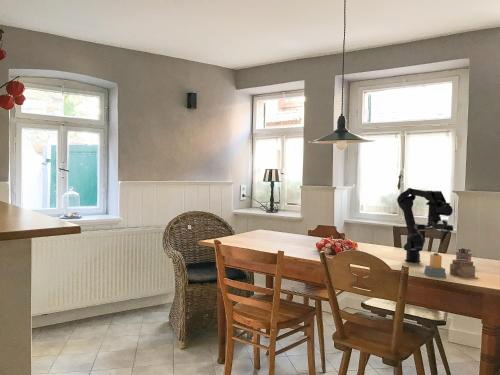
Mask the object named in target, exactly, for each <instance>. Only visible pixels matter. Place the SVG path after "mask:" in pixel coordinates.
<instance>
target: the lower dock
mask: <svg viewBox="0 0 500 375" xmlns="http://www.w3.org/2000/svg"><path fill="white" fill-rule="evenodd" d="M424 274H425V275H427V276H428V277H429V278H447V273H446V268H445V267H442V266H441V269H440V268H431V267H430V264H429V265H425V269H424Z"/></svg>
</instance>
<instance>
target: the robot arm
mask: <svg viewBox="0 0 500 375" xmlns="http://www.w3.org/2000/svg"><path fill="white" fill-rule="evenodd" d="M416 197H421V198H424V199H425V200H426V201H428V202H426V204H425V205H426V206H428V214H427V215H426V216H427V223H426V224H424V223H416V220H415V216H414V212H413V207H414V201H415V199H416ZM396 201H397V204H398V207H399V208H400V209H401V210H402V213H403V216H404V220H405V225H406V228H407V233H408V234H407V238H406V243H405V244H404V245H403V250H404V251H406V252H405V253H406V256H405V257H406V258H405V259H404V261H406V262H409V263H414V264H415V263H420V262H421V258H420V257H421V254H420V252H421V251H423V248H424V245H425V243H426V230H425V229H432V230H440V244H443V243H444V240H445V238H446V237H447V235H448V234H449V233H451V232H454V226H453V225H451V224H448V220H447V219H445V220H444V219H442V217H441V216H446V217H450V216H451V215H452V214H453V211H454V209H453V207H452V206H451V203H450V202H447V201H446V198H445V196H444V194H443V191H441V190H427V189H422V188H418V187H408V188H407V189H406V190H405V191H402V192H401V193H400V194H399V195H398V196H397V198H396Z"/></svg>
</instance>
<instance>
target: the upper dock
mask: <svg viewBox="0 0 500 375" xmlns="http://www.w3.org/2000/svg"><path fill="white" fill-rule="evenodd" d="M449 274H450V275H454V276H458V277H461V278H468V277H475V276H476V265H474V261H472V260H471V261H468V260H463V259H458V260H456V259H452V262H451V263H449Z"/></svg>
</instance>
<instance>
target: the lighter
mask: <svg viewBox="0 0 500 375" xmlns="http://www.w3.org/2000/svg"><path fill="white" fill-rule="evenodd" d="M470 252H471V248H465V247H462V248H460V247H458V251H455V254H456V255H455V260H458V259H463V260H468V261H472V256H473V254H472V253H470Z"/></svg>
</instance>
